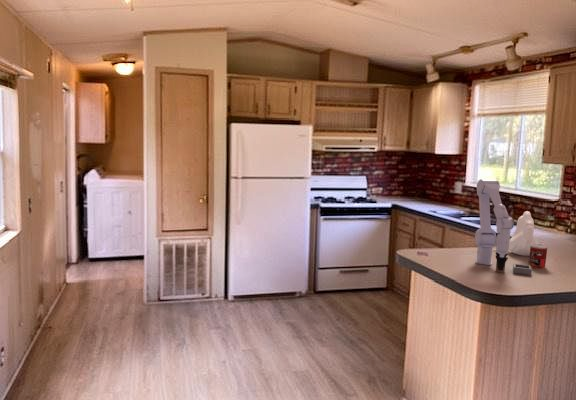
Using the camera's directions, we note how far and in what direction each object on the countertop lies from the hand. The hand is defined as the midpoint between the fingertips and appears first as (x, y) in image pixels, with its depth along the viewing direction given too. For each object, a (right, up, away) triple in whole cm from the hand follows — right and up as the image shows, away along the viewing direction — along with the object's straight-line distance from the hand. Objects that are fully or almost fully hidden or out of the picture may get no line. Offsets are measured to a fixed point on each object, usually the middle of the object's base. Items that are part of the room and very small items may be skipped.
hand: (500, 268), depth 255 cm
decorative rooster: (+28, +2, +38) cm, 47 cm away
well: (+10, -2, -1) cm, 11 cm away
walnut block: (0, -1, 0) cm, 2 cm away
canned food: (+24, -1, +13) cm, 28 cm away
